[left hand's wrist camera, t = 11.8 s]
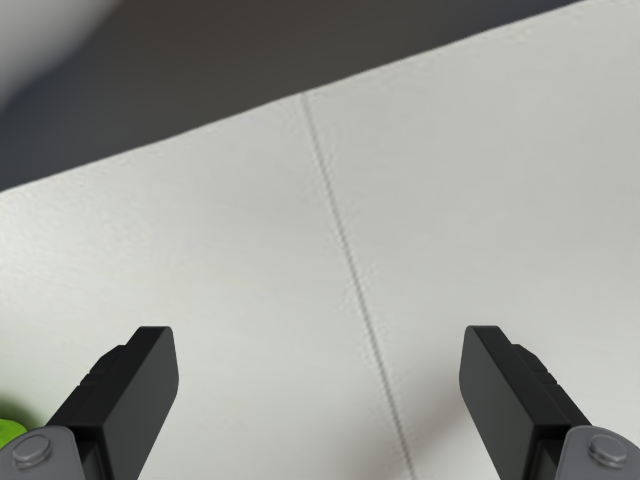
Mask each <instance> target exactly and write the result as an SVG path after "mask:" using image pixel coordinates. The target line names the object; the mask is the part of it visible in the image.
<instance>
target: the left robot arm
mask: <svg viewBox="0 0 640 480" xmlns="http://www.w3.org/2000/svg"><path fill="white" fill-rule="evenodd" d="M178 383H179V374H178V366H177V359H176V352H175V345H174V338H173V332H172V329H171V328H170V327H169V326H141V327H139V328H138V329H137V331H136V332H135V333H134V335H133V336H132V337H131V338H130V340H129V341H128V342H127V344H126V345H118V346H116V347H115V348H114V349H112V350H111V351H109V352H108V353H106V354H105V355H103V356H102V357H101V358H100V359H99V360H98V361H97V362H96V364H95V365H94V366H93V367H92V369H91V370H90V373H89V374H87V375H86V376H85V377H84V378H83V380H82V381H81V382H80V386H77V387H76V388H75V389H74V391H73V392H72V393H71V394H70V396H69V397H68V398H67V399H66V400H65V402H64V403H63V404H62V405H61V407H60V408H59V409H58V410H57V412H56V413H55V414H54V415H53V416H52V418H51V419H50V420H49V421H48V423H47V424H46V425H45V426H44V427H40V428H36V429H33V430H30V431H28V432H25V433H23V434H21V435H19V436H18V437H16V438H14V439H13V440H11V441H9V442H8V443H7V444H6V445H4V446H3V447H2V448H1V449H0V480H137V479H138V477H139V475H140V473H141V470H142V468H143V466H144V464H145V462H146V460H147V458H148V455H149V453H150V451H151V449H152V447H153V445H154V443H155V440H156V438H157V436H158V434H159V432H160V430H161V428H162V425H163V423H164V421H165V419H166V417H167V415H168V413H169V410H170V408H171V406H172V404H173V402H174V400H175V397H176V394H177V390H178ZM459 384H460V390H461V394H462V397H463V399H464V401H465V404H466V406H467V408H468V410H469V412H470V414H471V417H472V419H473V421H474V423H475V425H476V427H477V430H478V432H479V434H480V436H481V438H482V440H483V443H484V445H485V447H486V449H487V451H488V453H489V456H490V458H491V460H492V462H493V464H494V466H495V469H496V471H497V473H498V475H499V477H500V479H501V480H640V449H639V448H638V447H637V446H636V445H634V444H633V443H632V442H631V441H629V440H627V439H626V438H624V437H622V436H621V435H619V434H617V433H615V432H612V431H610V430H607V429H604V428H600V427H596V426H592V424H591V423H590V422H589V421H588V419H587V418H586V417H585V416H584V414H583V413H582V412H581V411H580V409H579V408H578V407H577V406H576V405H575V403H574V402H573V401H572V400H571V398H570V397H569V396H568V395H567V393H566V392H565V391H564V390H563V388H562V387H561V386H560V385H557V381H556V380H555V379H554V377H553V376H552V375H551V374H550V373H548V370H547V369H546V367H545V366H544V365H543V364H542V362H541V361H540V360H539V359H538V358H537V356H535V355H534V354H533V353H531V352H530V351H528V350H527V349H525V348H524V347H522V346H521V345H519V344H511V342H510V341H509V340H508V338H507V337H506V336H505V334H504V333H503V332H502V330H501V329H500V328H499V327H498V326H468V327H467V328H466V331H465V335H464V343H463V350H462V357H461V364H460V372H459Z"/></svg>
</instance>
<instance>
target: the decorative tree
mask: <svg viewBox="0 0 640 480" xmlns="http://www.w3.org/2000/svg"><path fill="white" fill-rule="evenodd" d="M25 432H27V430H26V428H25V427H24V426H22V425H21V424H19V423H17V422H16V421H12V420H4V419H0V449H1V448H2V447H3V446H4V445H6V444H7V443H8V442H9V441H11V440H13V439H14V438H16V437H18V436H19V435H21V434H23V433H25Z"/></svg>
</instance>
